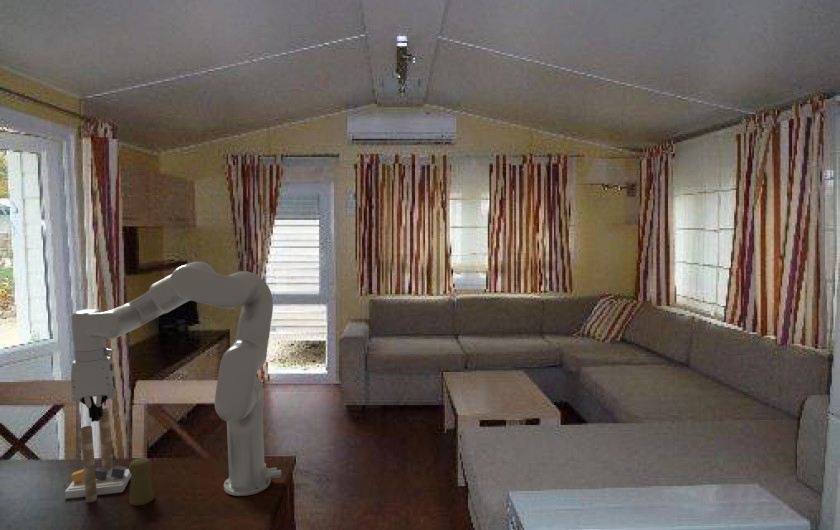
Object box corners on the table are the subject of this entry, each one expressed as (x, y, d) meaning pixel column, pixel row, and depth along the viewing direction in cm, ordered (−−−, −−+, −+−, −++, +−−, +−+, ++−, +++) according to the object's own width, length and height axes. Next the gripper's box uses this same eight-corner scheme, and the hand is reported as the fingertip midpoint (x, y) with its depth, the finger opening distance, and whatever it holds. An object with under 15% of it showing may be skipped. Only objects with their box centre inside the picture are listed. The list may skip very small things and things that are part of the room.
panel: (131, 475, 165) (131, 467, 165) (122, 492, 155) (122, 484, 155) (78, 480, 162) (77, 473, 162) (65, 498, 152) (64, 490, 152)
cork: (144, 506, 148) (141, 466, 147) (123, 504, 149) (121, 464, 148) (159, 494, 154) (156, 456, 153) (139, 492, 155) (137, 454, 154)
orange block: (87, 476, 159) (84, 468, 158) (85, 479, 157) (82, 471, 156) (76, 480, 158) (73, 472, 158) (74, 483, 156) (70, 475, 156)
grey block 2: (124, 475, 161) (126, 466, 161) (122, 478, 159) (124, 470, 159) (112, 473, 160) (114, 465, 160) (110, 476, 158) (112, 468, 158)
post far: (114, 471, 167) (109, 405, 165) (111, 475, 165) (107, 409, 163) (104, 472, 167) (99, 406, 165) (101, 476, 164) (97, 409, 162)
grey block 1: (106, 476, 160) (108, 468, 160) (104, 480, 158) (106, 472, 158) (95, 475, 159) (97, 467, 159) (93, 478, 157) (94, 470, 157)
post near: (98, 496, 153) (93, 425, 151) (95, 501, 150) (90, 429, 148) (87, 498, 152) (82, 426, 150) (84, 503, 150) (78, 430, 148)
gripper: (124, 349, 160) (129, 412, 162) (65, 353, 156) (71, 417, 158) (117, 356, 153) (122, 421, 155) (54, 360, 149) (61, 428, 151)
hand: (96, 419), depth 156 cm, fingers closed
